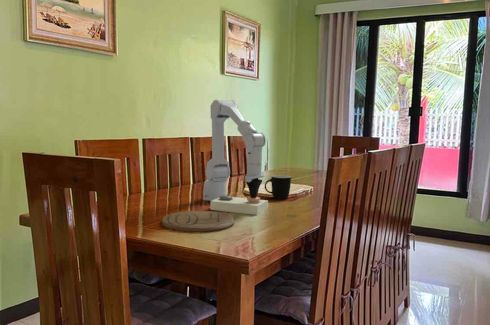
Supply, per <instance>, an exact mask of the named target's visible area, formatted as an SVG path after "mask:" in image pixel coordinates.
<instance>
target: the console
mask: <svg viewBox="0 0 490 325" xmlns="http://www.w3.org/2000/svg"><path fill="white" fill-rule="evenodd" d="M268 208H269V200H267V199H266V200H265V199H260V201H258V204H253V203H248V200H247V197H236V196H232V200H230V201H224V200H221V199H220V198H217V199H214V200H212V201H210V210H211V211H217V212H219V211H220V212H228V213H237V214H243V215H246V214H247V215H253V216H254V215H255V216H256V215H257V216H258V215H260V214H261V213H263V212H265V211H267V210H268Z"/></svg>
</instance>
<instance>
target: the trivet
mask: <svg viewBox="0 0 490 325" xmlns="http://www.w3.org/2000/svg"><path fill="white" fill-rule="evenodd" d="M161 223H162V226H163V227H164V226H165V228H166V229H168V228H169V230H171V229H172V231H175V230H177V231H176V232H181V231H183V233H194V232H200V233H201V232H203V233H213V232H214V231H215V232H220V231H224V230H229V229H230V228H232V227H233V226H235V217H233V216H232V215H230V214H227V213H224V212H221V211H220V212H219V211H213V210H211V211H209V210H188V211H178V212H172V213H169V214H166V215H164V216H163V218H162V220H161ZM215 232H214V233H215ZM200 233H199V234H200Z"/></svg>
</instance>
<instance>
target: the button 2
mask: <svg viewBox="0 0 490 325" xmlns="http://www.w3.org/2000/svg"><path fill="white" fill-rule="evenodd" d="M246 198H247V200H248V203H253V204H258V201H260V200H261V197H260V196H257V198H251V197H250V196H247V197H246Z"/></svg>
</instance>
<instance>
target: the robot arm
mask: <svg viewBox="0 0 490 325" xmlns="http://www.w3.org/2000/svg"><path fill="white" fill-rule="evenodd" d="M238 108H239V106H238V104H237V103H236V101H234V100H223V99H222V100H220V99H214V100H213V101H212V103H211V104H210V120H211V148H212V149H211V153H212V154H211V155H212V156H211V159H209V160H208V161H207V162H206V168H205V177H206V178H207V179H206V180H204V184H203V196H202V197H203V198H202V201H207V202H211V201H212V200H214V199H217V198H220V196H222V195H227V194H226V192H227V181H228V179H229V177H230V175H231V168H230V162H229V161H228V160H227V159H226V157H225V122H226V121H227V120H229V119H231V120H232V122H234V124H236V125H237V127H236V128H237V131H238V132H239V134H240V135H241V136H242V138H243V139H244V145H245V151H246V153H247V154H246V155H247V156H246V157H247V158H246V160H247V163H246V175H245V176H244V182H245V183H246V186H247V187H248V192H249V195H250V196H249V197H251V198H257V197H258V194H259V189H260V187H261V184H262V183H263V179H262V178H264V177H265V175H264V173H263V172H262V168H263V167H262V163H263V159H262V158H263V148H264V147H265V145H266V136H265V134H264V133H263V132H260V131H258V130H257V129H256V128H255V127H254V126H253V124H252V123H251V121H250V120H245V119H244V117H243V116H242V114H241V112H240V111H239V109H238Z"/></svg>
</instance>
